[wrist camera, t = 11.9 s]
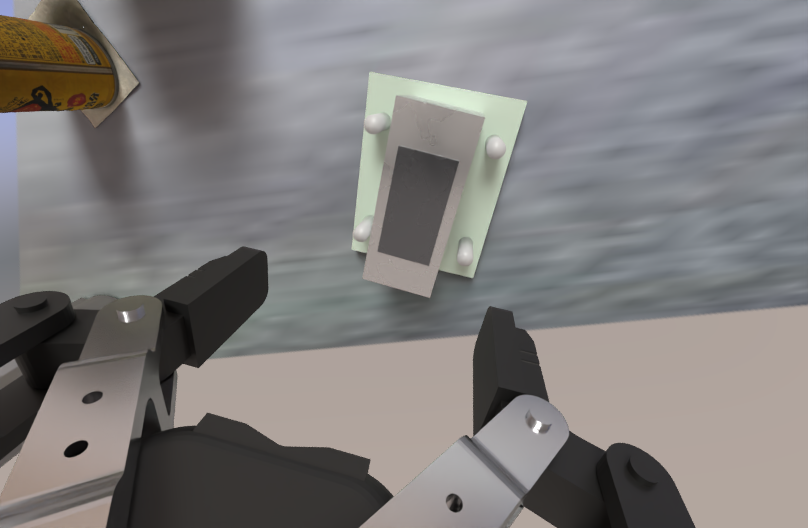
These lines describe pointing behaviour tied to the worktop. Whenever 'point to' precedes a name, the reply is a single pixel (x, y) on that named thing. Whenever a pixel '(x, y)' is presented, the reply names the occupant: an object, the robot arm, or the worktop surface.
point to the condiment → (60, 63)
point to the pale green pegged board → (481, 176)
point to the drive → (420, 191)
